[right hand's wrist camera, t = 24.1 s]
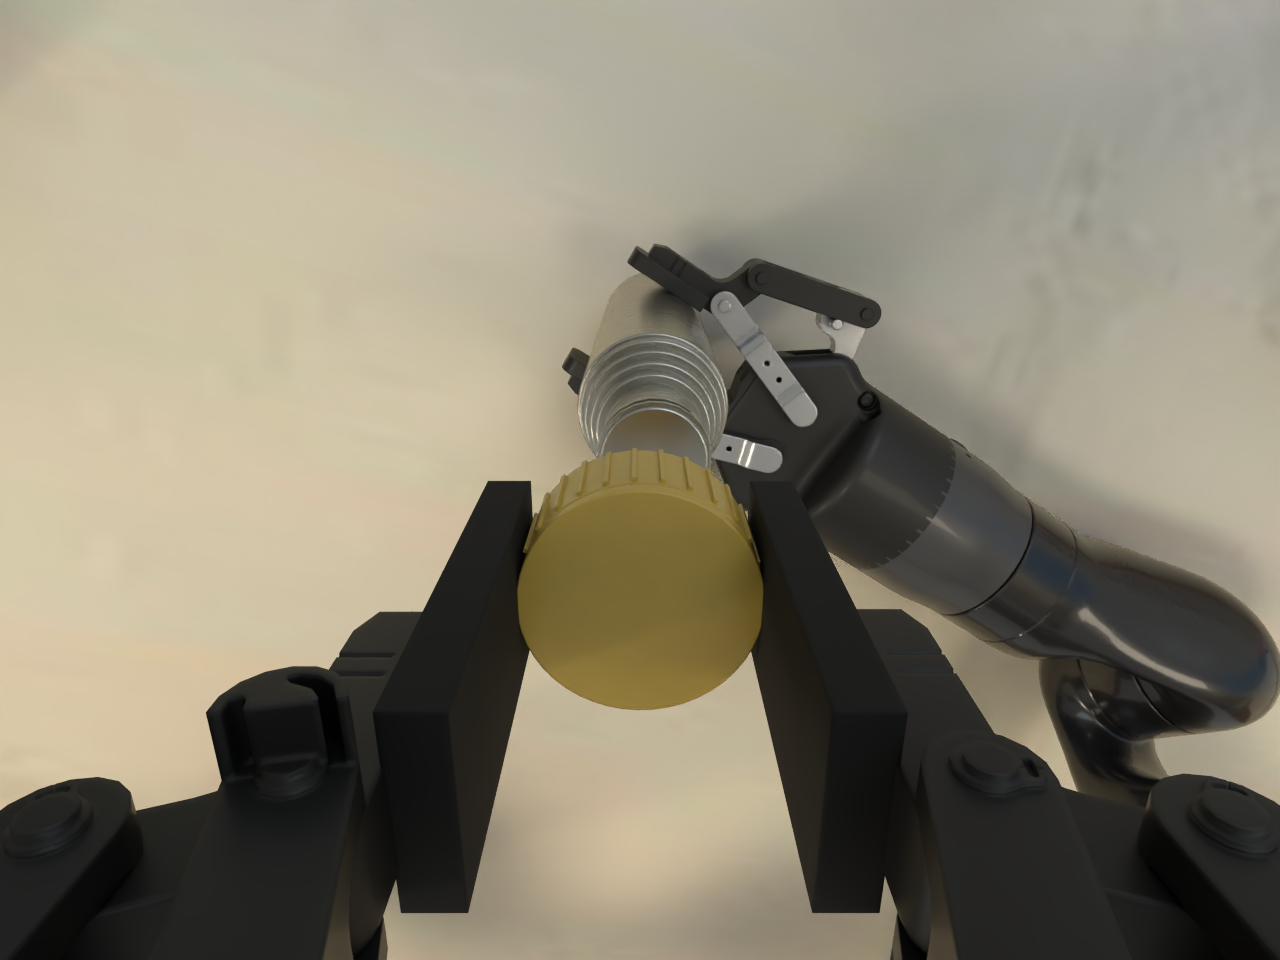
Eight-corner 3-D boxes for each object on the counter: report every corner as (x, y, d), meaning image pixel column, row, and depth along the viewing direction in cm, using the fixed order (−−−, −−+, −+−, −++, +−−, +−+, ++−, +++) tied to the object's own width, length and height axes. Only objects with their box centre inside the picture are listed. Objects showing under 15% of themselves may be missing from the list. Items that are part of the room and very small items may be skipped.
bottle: (708, 288, 40) (773, 400, 19) (680, 375, 42) (712, 565, 21) (619, 260, 40) (588, 344, 19) (595, 349, 42) (540, 517, 21)
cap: (560, 418, 14) (548, 456, 12) (784, 481, 14) (806, 527, 12) (506, 617, 15) (487, 680, 13) (711, 669, 15) (721, 737, 13)
